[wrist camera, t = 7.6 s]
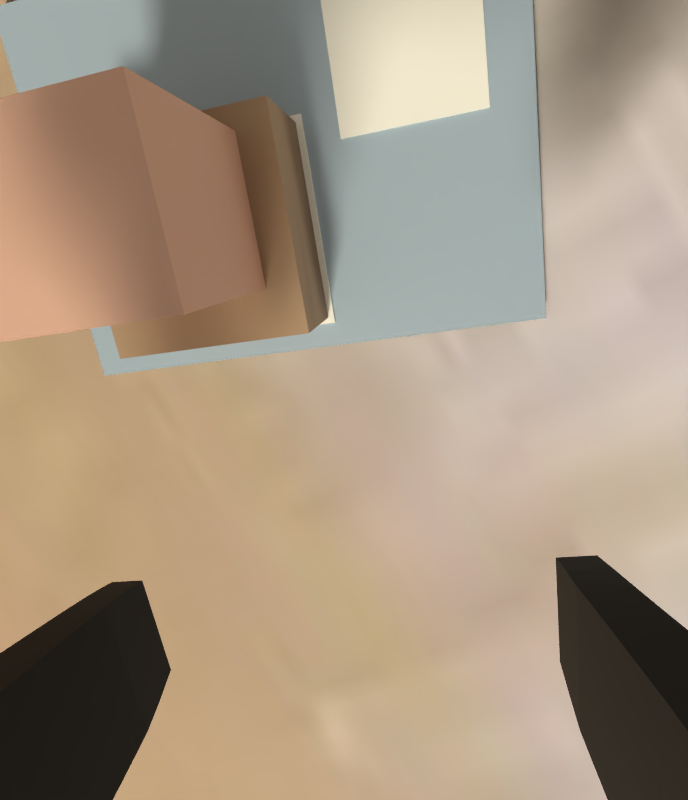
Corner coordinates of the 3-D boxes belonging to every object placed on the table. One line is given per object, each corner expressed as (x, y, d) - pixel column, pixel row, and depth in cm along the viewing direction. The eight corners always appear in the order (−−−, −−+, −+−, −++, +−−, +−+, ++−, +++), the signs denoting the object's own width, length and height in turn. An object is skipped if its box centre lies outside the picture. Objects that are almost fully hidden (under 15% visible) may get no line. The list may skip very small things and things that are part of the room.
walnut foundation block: (295, 122, 15) (266, 95, 12) (328, 317, 17) (308, 333, 14) (120, 161, 16) (57, 144, 13) (167, 340, 18) (120, 359, 15)
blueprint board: (521, -140, 13) (526, -160, 12) (541, 315, 16) (546, 318, 16) (6, 15, 16) (-11, 6, 15) (113, 371, 19) (103, 376, 19)
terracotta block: (235, 130, 13) (122, 65, 8) (266, 288, 14) (184, 314, 9) (96, 161, 13) (-81, 118, 9) (137, 308, 14) (-1, 342, 10)
